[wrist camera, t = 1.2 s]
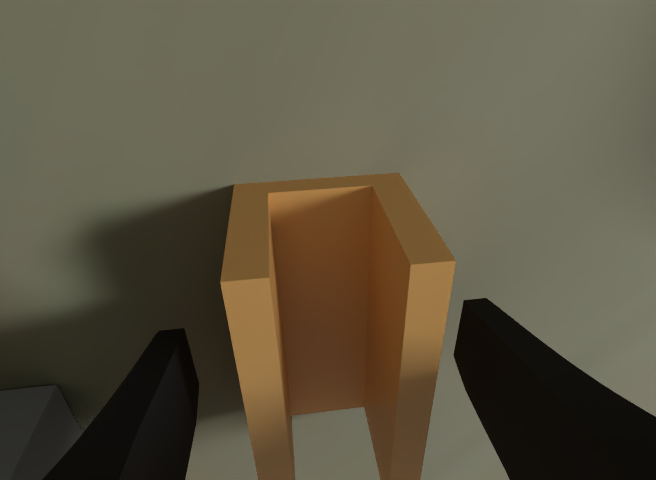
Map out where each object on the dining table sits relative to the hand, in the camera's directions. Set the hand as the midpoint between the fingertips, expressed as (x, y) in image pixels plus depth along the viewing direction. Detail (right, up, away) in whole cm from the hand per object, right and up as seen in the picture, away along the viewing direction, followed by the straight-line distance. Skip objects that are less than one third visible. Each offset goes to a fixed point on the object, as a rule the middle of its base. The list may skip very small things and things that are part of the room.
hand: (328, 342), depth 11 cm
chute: (0, +1, +1) cm, 2 cm away
